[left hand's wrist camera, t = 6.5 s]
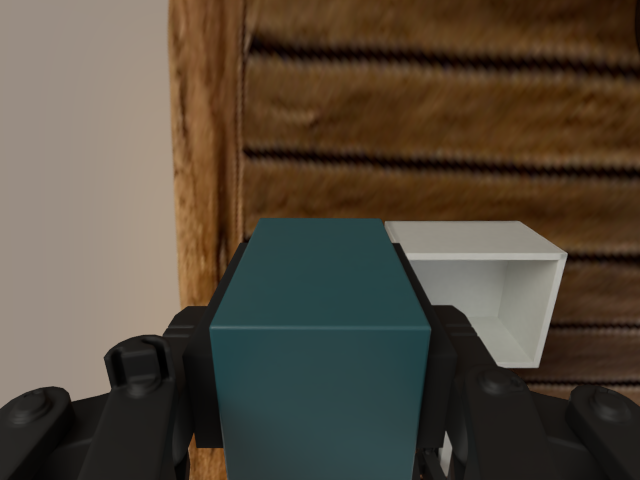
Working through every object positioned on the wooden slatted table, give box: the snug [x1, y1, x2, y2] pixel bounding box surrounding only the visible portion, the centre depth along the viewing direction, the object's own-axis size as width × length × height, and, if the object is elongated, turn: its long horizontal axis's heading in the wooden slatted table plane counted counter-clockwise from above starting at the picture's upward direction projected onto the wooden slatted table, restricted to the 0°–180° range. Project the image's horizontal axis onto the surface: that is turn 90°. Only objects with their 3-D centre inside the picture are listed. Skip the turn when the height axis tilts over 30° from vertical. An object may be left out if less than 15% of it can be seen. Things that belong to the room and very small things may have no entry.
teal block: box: [209, 218, 431, 480], centre depth 12 cm, size 4×4×7 cm
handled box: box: [385, 221, 567, 476], centre depth 38 cm, size 13×24×9 cm, turn 0°
